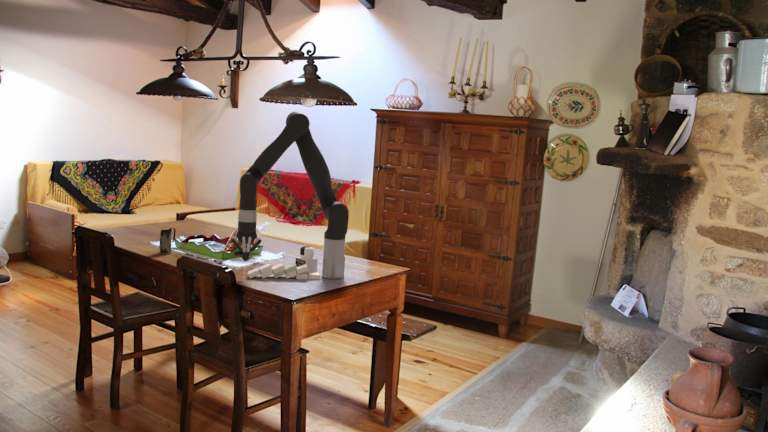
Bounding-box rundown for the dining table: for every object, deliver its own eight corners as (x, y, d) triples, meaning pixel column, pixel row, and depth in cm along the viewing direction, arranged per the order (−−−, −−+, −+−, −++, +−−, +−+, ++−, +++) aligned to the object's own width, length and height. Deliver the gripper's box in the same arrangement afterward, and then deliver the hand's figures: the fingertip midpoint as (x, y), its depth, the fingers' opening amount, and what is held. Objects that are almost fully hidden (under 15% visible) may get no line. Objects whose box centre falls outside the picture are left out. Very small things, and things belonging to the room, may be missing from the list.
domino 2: (262, 275, 277) (284, 267, 278) (262, 278, 272) (284, 269, 273) (260, 271, 276) (282, 262, 278) (260, 274, 271) (283, 265, 273)
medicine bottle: (294, 272, 287) (296, 246, 285) (307, 270, 292) (308, 245, 290) (304, 275, 282) (305, 249, 280) (317, 274, 287) (318, 247, 285)
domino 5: (295, 276, 280) (318, 276, 282) (296, 279, 275) (319, 279, 277) (295, 272, 280) (318, 272, 282) (296, 274, 275) (319, 275, 277)
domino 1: (249, 275, 275) (271, 267, 277) (249, 278, 270) (272, 269, 272) (247, 271, 275) (269, 262, 276) (248, 274, 270) (270, 265, 272)
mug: (164, 254, 305) (164, 229, 303) (156, 253, 308) (157, 228, 306) (177, 252, 312) (178, 228, 310) (170, 251, 314) (171, 226, 313)
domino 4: (286, 275, 279) (307, 267, 280) (286, 278, 274) (308, 270, 275) (284, 271, 279) (306, 263, 279) (284, 274, 274) (306, 266, 275)
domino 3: (275, 275, 278) (296, 266, 279) (275, 278, 273) (297, 269, 274) (273, 271, 278) (295, 262, 279) (273, 274, 273) (295, 265, 274)
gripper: (231, 220, 264) (229, 262, 266) (263, 222, 267) (262, 262, 269) (231, 218, 271) (229, 258, 273) (262, 219, 274) (261, 259, 277)
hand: (245, 260), depth 271 cm, fingers closed
